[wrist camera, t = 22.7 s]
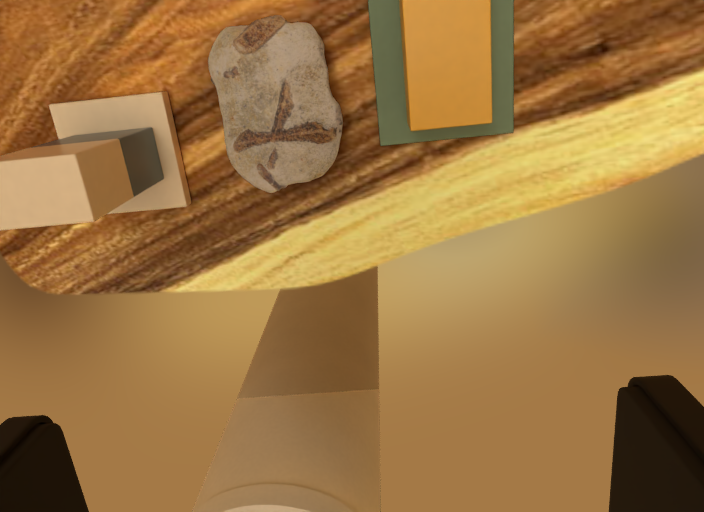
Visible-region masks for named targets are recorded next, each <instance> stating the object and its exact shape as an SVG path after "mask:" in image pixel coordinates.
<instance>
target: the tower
mask: <svg viewBox="0 0 704 512" xmlns="http://www.w3.org/2000/svg"><path fill="white" fill-rule="evenodd" d="M49 108H50V111H51V114H52V118H53V121H54V125H55V128H56V131H57V135H58V138H59V140H55V141H52V142H48V143H45V144H41V145H38V146H34V147H31V148H27V149H24V150H20V151H16V152H13V153H9V154H6V155H2V156H0V230H10V229H21V228H32V227H43V226H54V225H64V224H75V223H86V222H94V221H96V220H97V219H99V218H101V217H102V216H104V215H106V214H114V213H125V212H136V211H146V210H157V209H168V208H178V207H187V206H188V205H189V204H190V203H191V197H190V193H189V188H188V184H187V179H186V174H185V170H184V165H183V161H182V156H181V151H180V147H179V142H178V138H177V133H176V128H175V124H174V119H173V115H172V110H171V106H170V101H169V96H168V92H167V91H164V92H154V93H145V94H136V95H127V96H118V97H109V98H100V99H91V100H82V101H73V102H64V103H56V104H50V105H49Z"/></svg>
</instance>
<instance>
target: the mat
mask: <svg viewBox="0 0 704 512" xmlns="http://www.w3.org/2000/svg"><path fill="white" fill-rule="evenodd" d="M368 8H369V20H370V31H371V43H372V54H373V66H374V78H375V89H376V101H377V112H378V124H379V135H380V145H381V146H385V145H395V144H405V143H415V142H425V141H435V140H445V139H455V138H465V137H475V136H486V135H496V134H506V133H513V132H514V0H491V63H492V123H487V124H477V125H467V126H458V127H448V128H438V129H428V130H418V131H411V130H410V128H409V126H408V124H407V111H406V97H405V82H404V67H403V52H402V37H401V23H400V8H399V0H368Z"/></svg>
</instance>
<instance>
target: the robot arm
mask: <svg viewBox="0 0 704 512" xmlns="http://www.w3.org/2000/svg"><path fill="white" fill-rule="evenodd" d="M609 503H610V504H609V512H704V407H703V406H702V405H701V404H700V403H699V402H698V401H697V399H696V398H694V396H693V395H692V394H691V393H690V392H689V391H688V390H687V389H686V388H685V387H684V386H683V385H682V384H681V383H680V382H679V381H678V380H677V379H676V378H674V377H673V376H670V375H662V376H646V377H633V378H632V379H631V380H630V381H629V383H628V387H622V388H620V389H619V391H618V396H617V410H616V422H615V435H614V449H613V462H612V476H611V489H610V502H609ZM0 512H89V511H88V508H87V505H86V502H85V499H84V495H83V492H82V489H81V486H80V484H79V480H78V477H77V474H76V471H75V468H74V465H73V462H72V459H71V456H70V453H69V450H68V447H67V444H66V440H65V437H64V434H63V431H62V429H61V427H60V426H59V425H58V424H55V423H53V421H52V420H51V419H50V418H49V417H48V416H44V415H41V416H26V417H25V416H24V417H12V418H8V419H7V420H5V421H4V422H3V423H2V424H1V425H0Z"/></svg>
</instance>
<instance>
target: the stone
mask: <svg viewBox="0 0 704 512" xmlns="http://www.w3.org/2000/svg"><path fill="white" fill-rule="evenodd" d="M208 67H209V71H210V74H211V81H212V83H213V84H214V85H215V86H216V89H217V93H218V97H219V104H220V109H221V113H222V116H223V126H224V136H225V144H226V149H227V155H228V157H229V160H230V162H231V164H232V165H233V167H234V168H235V169H236V171H237V172H238V173H239V174H240V175H241V176H242V177H243V178H244V179H246V180H247V181H248V182H249V183H251V184H252V185H253V186H255V187H257V188H259V189H261V190H264V191H266V192H269V193H273V192H276V191H279V190H280V189H282V188H286V186H287V185H289V184H294V183H301V182H309V181H311V180H314V179H316V178H319V177H321V176H323V175H324V174H325V173H326V172H327V171H328V169H329V168H330V167H331V166H332V164H333V162H334V160H335V158H336V156H337V154H338V150H339V145H340V138H341V135H342V127H343V118H342V113H341V108H340V105H339V103H338V102H337V101H336V100H335V98H334V97H333V96H332V93H331V90H330V85H329V77H328V68H327V66H326V60H325V56H324V43H323V41H322V39H321V38H320V36H319V35H318V33H317V32H316V30H315V29H314V27H313V26H312V25H310V24H309V23H304V22H295V23H289V22H287V21H286V20H285V19H284V18H283V17H282V16H281V15H274V16H269V17H266V18H263V19H261V20H256V21H254V22H252V23H251V24H250V25H249V26H230V27H227V28H225V29H224V30H222V31H221V32H220V34H219V36H218V37H217V39H216V40H215V42H214V44H213V46H212V49H211V52H210V55H209V57H208Z"/></svg>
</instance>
